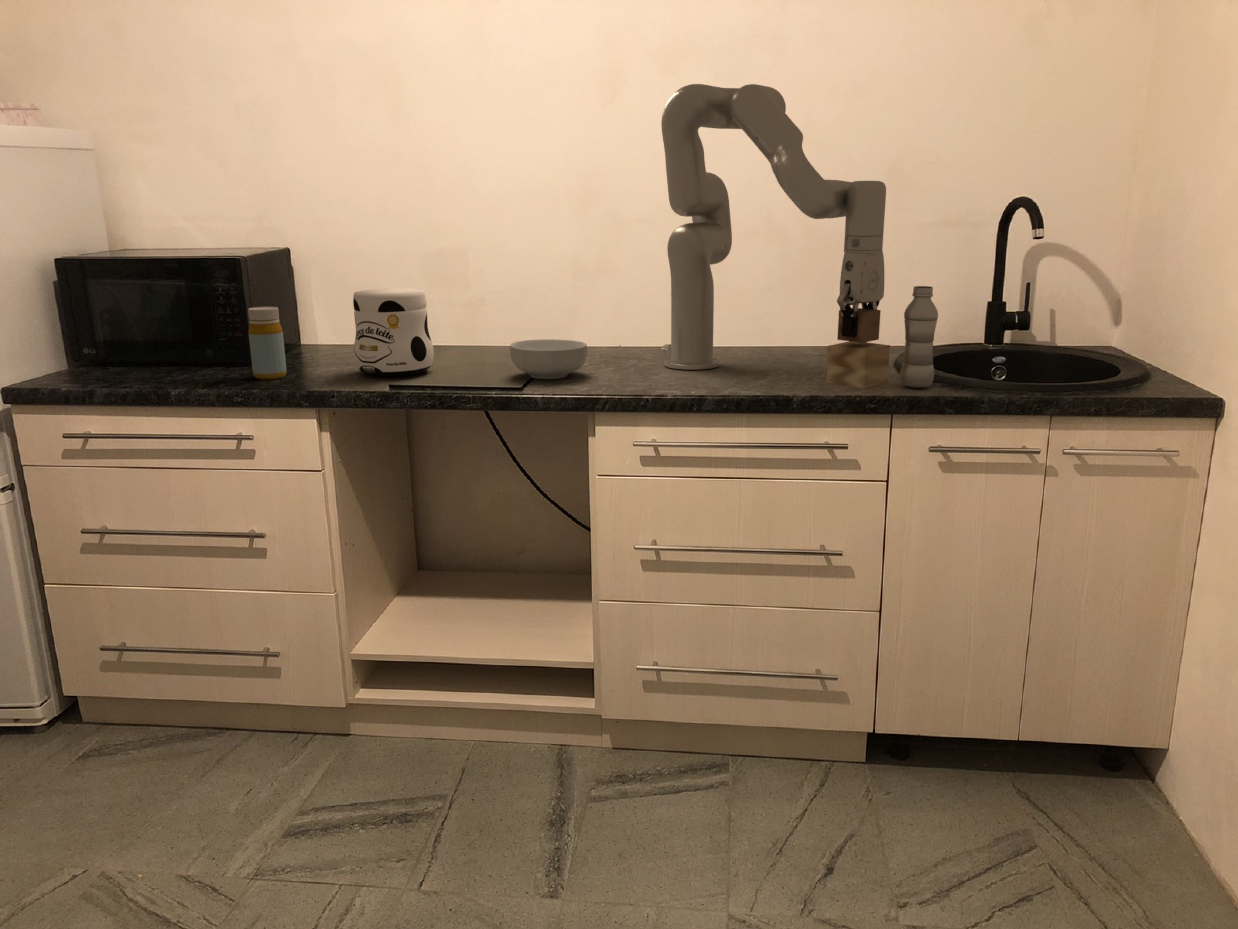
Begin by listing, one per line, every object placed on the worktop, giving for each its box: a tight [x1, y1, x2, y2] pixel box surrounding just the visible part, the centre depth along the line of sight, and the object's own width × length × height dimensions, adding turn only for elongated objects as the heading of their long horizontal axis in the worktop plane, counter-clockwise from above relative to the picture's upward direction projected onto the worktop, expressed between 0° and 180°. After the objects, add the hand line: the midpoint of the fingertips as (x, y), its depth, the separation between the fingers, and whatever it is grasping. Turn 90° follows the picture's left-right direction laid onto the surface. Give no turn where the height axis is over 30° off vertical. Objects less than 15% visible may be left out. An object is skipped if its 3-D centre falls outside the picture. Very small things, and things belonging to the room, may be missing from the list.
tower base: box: [826, 364, 890, 389], centre depth 205 cm, size 9×9×4 cm
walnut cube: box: [836, 307, 881, 343], centre depth 202 cm, size 6×6×6 cm
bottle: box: [247, 306, 287, 380], centre depth 215 cm, size 7×7×15 cm
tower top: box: [826, 341, 891, 370], centre depth 204 cm, size 9×9×4 cm
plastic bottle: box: [899, 285, 939, 389], centre depth 196 cm, size 6×7×20 cm
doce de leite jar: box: [352, 287, 435, 377], centre depth 218 cm, size 17×17×18 cm
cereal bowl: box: [509, 338, 588, 380], centre depth 214 cm, size 17×17×7 cm
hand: (858, 333), depth 202 cm, fingers closed on walnut cube, 5 cm apart
